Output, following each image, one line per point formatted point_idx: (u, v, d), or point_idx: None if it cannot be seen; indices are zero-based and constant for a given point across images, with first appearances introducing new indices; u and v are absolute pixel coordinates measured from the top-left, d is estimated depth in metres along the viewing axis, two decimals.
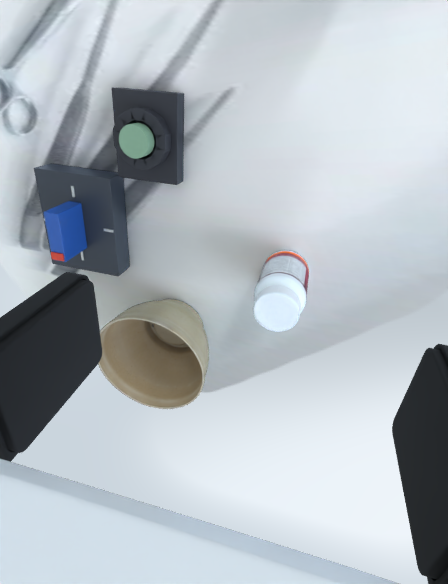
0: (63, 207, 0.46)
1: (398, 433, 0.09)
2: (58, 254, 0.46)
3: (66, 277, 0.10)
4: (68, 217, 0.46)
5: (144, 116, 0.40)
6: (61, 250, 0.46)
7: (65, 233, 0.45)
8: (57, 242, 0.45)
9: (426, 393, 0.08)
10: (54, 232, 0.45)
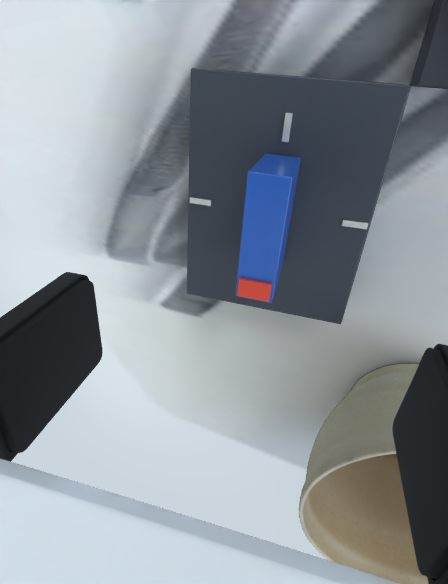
0: (276, 163, 0.18)
1: (398, 433, 0.09)
2: (260, 285, 0.18)
3: (66, 277, 0.10)
4: (292, 191, 0.18)
5: None
6: (268, 275, 0.18)
7: (284, 231, 0.17)
8: (264, 254, 0.17)
9: (426, 393, 0.08)
10: (265, 228, 0.17)
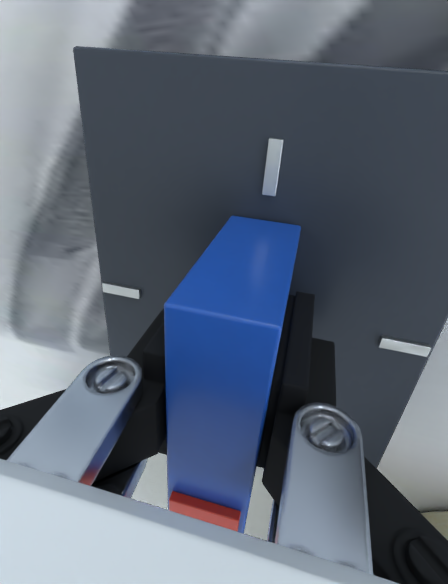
0: (246, 252, 0.08)
1: None
2: (214, 515, 0.08)
3: None
4: None
5: None
6: (231, 498, 0.08)
7: None
8: (220, 463, 0.08)
9: None
10: (217, 420, 0.07)
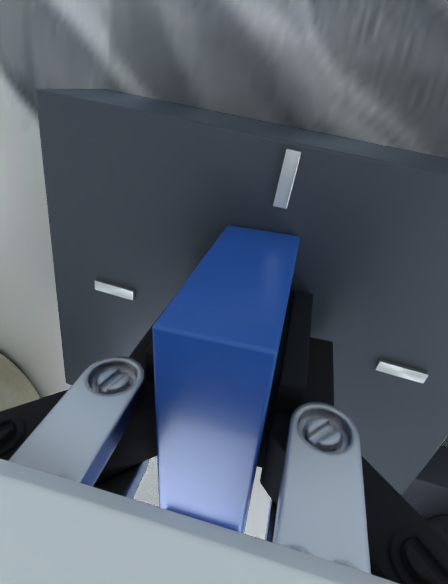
0: (242, 266, 0.08)
1: None
2: None
3: None
4: None
5: None
6: (225, 523, 0.08)
7: None
8: (213, 488, 0.07)
9: None
10: (210, 445, 0.07)
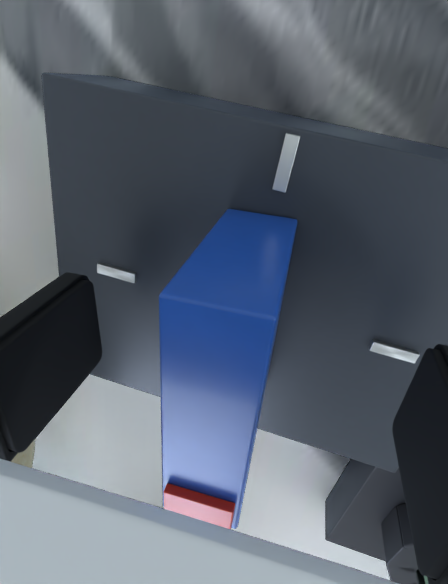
0: (243, 245, 0.08)
1: (398, 433, 0.09)
2: (208, 507, 0.08)
3: (66, 277, 0.10)
4: (279, 310, 0.08)
5: None
6: (225, 490, 0.08)
7: (261, 402, 0.08)
8: (215, 455, 0.08)
9: (426, 393, 0.08)
10: (212, 412, 0.07)
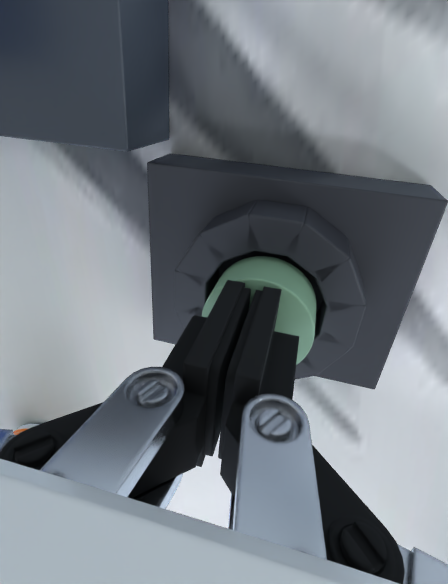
0: None
1: None
2: None
3: (231, 285, 0.10)
4: None
5: (332, 342, 0.12)
6: None
7: None
8: None
9: None
10: None
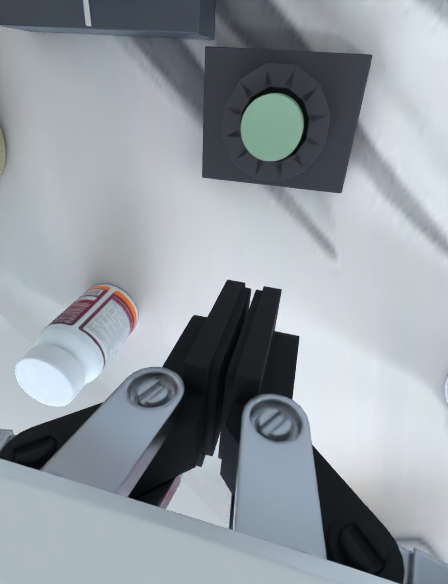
0: None
1: None
2: None
3: (232, 285, 0.10)
4: None
5: (313, 144, 0.22)
6: None
7: None
8: None
9: None
10: None
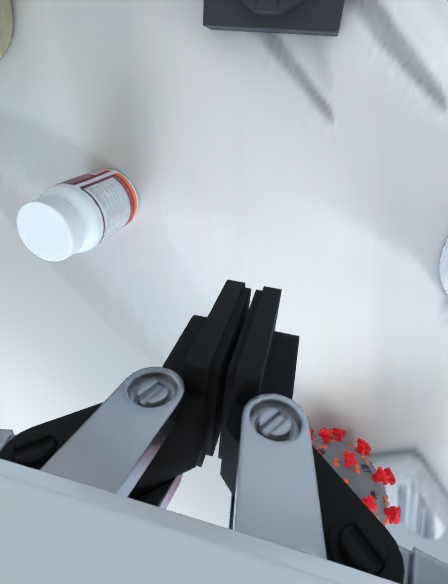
0: None
1: None
2: None
3: (232, 285, 0.10)
4: None
5: None
6: None
7: None
8: None
9: None
10: None
